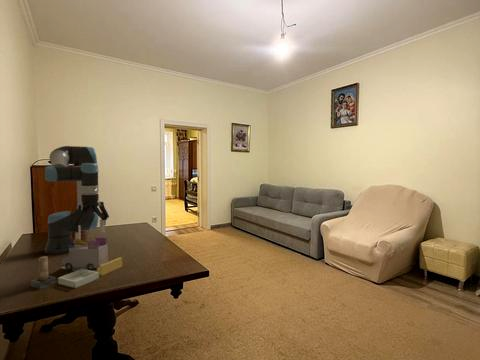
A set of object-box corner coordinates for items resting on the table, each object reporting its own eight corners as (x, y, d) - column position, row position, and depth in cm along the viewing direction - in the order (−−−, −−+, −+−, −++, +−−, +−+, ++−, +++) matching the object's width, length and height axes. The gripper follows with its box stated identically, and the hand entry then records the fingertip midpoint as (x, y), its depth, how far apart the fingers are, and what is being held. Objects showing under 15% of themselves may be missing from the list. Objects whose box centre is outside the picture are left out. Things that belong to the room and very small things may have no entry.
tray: (58, 284, 112) (58, 277, 112) (82, 274, 123) (81, 268, 123) (75, 289, 108) (75, 282, 108) (98, 278, 119) (98, 272, 118)
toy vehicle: (73, 264, 135) (72, 235, 134) (109, 265, 134) (109, 236, 133) (60, 271, 126) (59, 240, 125) (99, 272, 125) (98, 241, 124)
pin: (37, 285, 111) (36, 258, 111) (45, 282, 114) (44, 255, 114) (42, 286, 110) (41, 259, 110) (50, 283, 113) (49, 256, 112)
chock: (97, 274, 122) (97, 265, 122) (117, 265, 133) (117, 257, 133) (101, 275, 121) (101, 266, 121) (122, 266, 132) (122, 257, 132)
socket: (31, 286, 110) (30, 280, 110) (47, 280, 116) (46, 275, 116) (40, 289, 108) (40, 283, 108) (56, 282, 114) (56, 277, 114)
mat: (61, 268, 130) (61, 267, 130) (86, 259, 143) (86, 258, 143) (98, 276, 121) (98, 275, 121) (122, 266, 134) (122, 265, 134)
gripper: (70, 197, 117) (71, 243, 119) (115, 191, 141) (116, 230, 142) (59, 196, 120) (61, 240, 122) (105, 191, 143) (106, 228, 145)
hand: (90, 235), depth 132 cm, fingers open, 13 cm apart
